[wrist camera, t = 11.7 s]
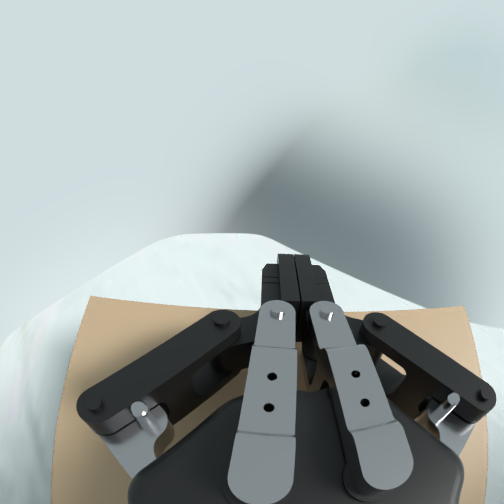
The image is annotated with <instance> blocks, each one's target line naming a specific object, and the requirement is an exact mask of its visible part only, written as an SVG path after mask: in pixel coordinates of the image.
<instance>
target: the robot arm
mask: <svg viewBox="0 0 504 504" xmlns="http://www.w3.org/2000/svg"><path fill="white" fill-rule="evenodd" d="M295 342H301V343H302V349H301V354H300V358H301V363H302V368H303V374H304V379H305V384H306V390H307V392H306V391H301V390H297V348H295ZM383 354H384V355H385V356H387V357H388V358H390V359H391V360H392V361H394V362H395V363H397V364H398V365H399V366H401V367H402V368H403V369H404V370H405V372H406V375H404V374H402V373H400V372H399V371H398V370H396V369H395V368H393V367H392V366H391V365H389V364H388V363H387V362H385V361H384V360H382V359H381V357H382V355H383ZM245 368H248V374H247V380H246V385H245V391H244V395H242V396H238V397H236V398H233V399H231V400H229V401H227V402H226V403H224V404H223V405H221V406H220V407H219V408H218V409H216V410H215V411H214V412H213V413H212V414H211V415H210V416H208V417H207V418H206V419H205V420H204V421H203V422H201V423H200V424H199V425H198V426H197V427H196V428H194V429H193V430H192V431H191V432H190V433H188V434H187V435H186V436H185V437H183V438H182V439H181V440H180V441H178V442H177V443H176V444H175V445H173V446H172V447H171V448H170V449H168V450H167V451H166V452H164V450H165V449H166V447H167V446H168V445H169V444H170V443H171V442H172V441H173V439H174V435H175V431H174V427H173V425H175V424H176V423H177V422H179V421H180V420H181V419H183V418H184V417H186V416H187V415H188V414H189V413H191V412H192V411H193V410H195V409H196V408H197V407H199V406H200V405H201V404H202V403H204V402H205V401H206V400H208V399H209V398H210V397H211V396H213V395H214V394H215V393H216V392H218V391H219V390H220V389H221V388H222V387H224V386H225V385H226V384H227V383H229V382H230V381H231V380H232V379H233V378H234V377H236V376H237V375H238V374H239V373H240V371H241V369H245ZM495 403H496V394H495V391H494V389H493V388H492V387H491V386H490V385H489V384H488V383H486V382H485V381H484V380H482V379H481V378H479V377H478V376H476V375H475V374H474V373H472V372H471V371H469V370H468V369H466V368H465V367H463V366H462V365H460V364H459V363H458V362H456V361H455V360H453V359H452V358H450V357H449V356H447V355H446V354H444V353H443V352H441V351H440V350H438V349H437V348H435V347H434V346H432V345H431V344H429V343H428V342H426V341H425V340H423V339H422V338H420V337H419V336H417V335H416V334H414V333H413V332H411V331H410V330H408V329H407V328H405V327H404V326H402V325H401V324H399V323H398V322H396V321H395V320H393V319H392V318H390V317H389V316H387V315H385V314H383V313H378V312H372V313H369V314H367V315H366V316H365V317H364V319H363V320H360V319H356V318H351V317H348V316H346V315H344V312H343V310H342V309H341V307H340V306H338V305H337V304H335V302H334V299H333V295H332V292H331V289H330V285H329V282H328V279H327V275H326V272H325V271H324V270H323V269H322V268H321V267H320V266H319V265H312V264H311V261H310V257H309V255H299V254H294V256H293V254H278V258H277V264H266V265H265V267H264V268H263V269H262V290H261V307H260V309H259V310H258V311H257V312H256V313H254V314H252V315H250V316H246V317H241V318H240V317H239V316H238V315H237V314H236V313H234V312H232V311H229V310H216V311H213V312H211V313H209V314H207V315H206V316H204V317H203V318H201V319H200V320H198V321H197V322H195V323H194V324H192V325H190V326H189V327H187V328H186V329H184V330H183V331H181V332H180V333H178V334H176V335H175V336H173V337H172V338H170V339H169V340H167V341H165V342H164V343H162V344H161V345H159V346H157V347H156V348H154V349H153V350H151V351H149V352H148V353H146V354H145V355H143V356H141V357H140V358H138V359H137V360H135V361H133V362H132V363H130V364H128V365H127V366H125V367H123V368H122V369H120V370H119V371H117V372H115V373H114V374H112V375H110V376H109V377H107V378H105V379H104V380H102V381H100V382H99V383H97V384H95V385H94V386H92V387H90V388H88V389H87V390H85V391H84V392H83V393H82V394H81V395H80V396H79V398H78V400H77V403H76V409H77V413H78V415H79V416H80V418H81V419H82V420H83V421H84V422H85V423H86V424H87V425H88V426H89V427H90V429H91V430H92V431H93V432H94V433H95V434H96V435H97V436H98V437H99V438H101V439H102V440H103V441H104V442H105V444H106V445H107V447H108V448H109V449H110V451H111V452H112V454H113V455H114V456H115V458H116V459H117V460H118V462H119V463H120V464H121V466H122V467H123V468H124V469H125V471H126V472H127V473H128V474H129V476H130V477H131V478H132V481H131V483H130V485H129V488H128V495H127V499H128V504H459V500H460V494H461V490H462V486H463V482H464V467H463V463H462V461H461V459H460V457H459V455H460V453H461V452H462V450H463V448H464V446H465V444H466V442H467V440H468V438H469V436H470V434H471V432H472V430H473V428H474V426H475V424H476V423H477V422H479V421H480V420H481V419H482V418H483V417H484V416H485V415H486V414H487V413H488V412H489V411H490V410H491V409H492V408H493V407H494V406H495ZM163 452H164V453H163Z"/></svg>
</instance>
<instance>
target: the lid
mask: <svg viewBox="0 0 504 504" xmlns="http://www.w3.org/2000/svg"><path fill="white" fill-rule="evenodd" d="M216 310H229V309H213V308H199V307H186V306H174V305H163V304H153V303H143V302H134V301H126V300H117V299H110V298H102V297H95V296H90V299H89V301H88V304H87V307H86V310H85V313H84V316H83V319H82V322H81V325H80V328H79V331H78V334H77V338H76V341H75V345H74V348H73V352H72V355H71V359H70V363H69V367H68V371H67V375H66V379H65V383H64V388H63V393H62V398H61V403H60V408H59V414H58V420H57V427H56V434H55V442H54V452H53V464H52V485H51V504H128V499H127V495H128V488H129V485H130V483H131V481H132V478H131V477H130V476H129V474H128V473H127V472H126V471H125V469H124V468H123V467H122V466H121V464H120V463H119V462H118V460H117V459H116V458H115V456H114V455H113V454H112V452H111V451H110V449H109V448H108V447H107V445H106V444H105V442H104V441H103V440H102V439H101V438H99V437H98V436H97V435H96V434H95V433H94V432H93V431H92V430H91V429H90V427H89V426H88V425H87V424H86V423H85V422H84V421H83V420H82V419H81V418H80V416H79V415H78V413H77V409H76V403H77V400H78V398H79V396H80V395H81V394H82V393H83V392H84V391H85V390H87V389H88V388H90V387H92V386H94V385H95V384H97V383H99V382H100V381H102V380H104V379H105V378H107V377H109V376H110V375H112V374H114V373H115V372H117V371H119V370H120V369H122V368H123V367H125V366H127V365H128V364H130V363H132V362H133V361H135V360H137V359H138V358H140V357H141V356H143V355H145V354H146V353H148V352H149V351H151V350H153V349H154V348H156V347H157V346H159V345H161V344H162V343H164V342H165V341H167V340H169V339H170V338H172V337H173V336H175V335H176V334H178V333H180V332H181V331H183V330H184V329H186V328H187V327H189V326H190V325H192V324H194V323H195V322H197V321H198V320H200V319H201V318H203V317H204V316H206V315H207V314H209V313H211V312H213V311H216ZM229 311H232V312H234V313H236V314H237V315H238V316H239V317H240V318H241V317H246V316H250V315H252V314H254V313H256V312H257V311H250V310H229ZM372 312H378V313H383V314H385V315H387V316H389V317H390V318H392V319H393V320H395V321H396V322H398V323H399V324H401V325H402V326H404V327H405V328H407V329H408V330H410V331H411V332H413V333H414V334H416V335H417V336H419V337H420V338H422V339H423V340H425V341H426V342H428V343H429V344H431V345H432V346H434V347H435V348H437V349H438V350H440V351H441V352H443V353H444V354H446V355H447V356H449V357H450V358H452V359H453V360H455V361H456V362H458V363H459V364H460V365H462V366H463V367H465V368H466V369H468V370H469V371H471V372H472V373H474V374H475V375H476V376H478V377H479V378H481V379H482V377H481V371H480V366H479V361H478V356H477V351H476V347H475V343H474V339H473V335H472V331H471V327H470V323H469V320H468V317H467V313H466V310H465V307H464V306H457V307H445V308H433V309H417V310H398V311H372ZM372 312H344V315H346V316H348V317H351V318H356V319H360V320H363V319H364V317H365V316H366V315H367V314H369V313H372ZM295 348H297V390H301V391H306V392H307V390H306V384H305V379H304V374H303V368H302V363H301V358H300V354H301V349H302V343H301V342H295ZM381 359H382V360H384V361H385V362H387V363H388V364H389V365H391V366H392V367H393V368H395V369H396V370H398V371H399V372H400V373H402V374H404V375H406V372H405V370H404V369H403V368H402V367H401V366H399V365H398V364H397V363H395V362H394V361H392V360H391V359H390V358H388V357H387V356H385V355H384V354H383V355H382V357H381ZM247 374H248V368H245V369H241V371H240V373H239V374H238V375H237V376H236V377H234V378H233V379H232V380H231V381H230V382H229V383H227V384H226V385H225V386H224V387H222V388H221V389H220V390H219V391H218V392H216V393H215V394H214V395H213V396H211V397H210V398H209V399H208V400H206V401H205V402H204V403H202V404H201V405H200V406H199V407H197V408H196V409H195V410H193V411H192V412H191V413H189V414H188V415H187V416H186V417H184V418H183V419H181V420H180V421H179V422H177V423H176V424H175V425H173V427H174V431H175V435H174V439H173V441H172V442H171V443H170V444H169V445H168V446H167V447H166V449H165V450H164V452H166V451H167V450H168V449H170V448H171V447H172V446H173V445H175V444H176V443H177V442H178V441H180V440H181V439H182V438H183V437H185V436H186V435H187V434H188V433H190V432H191V431H192V430H193V429H194V428H196V427H197V426H198V425H199V424H200V423H201V422H203V421H204V420H205V419H206V418H207V417H208V416H210V415H211V414H212V413H213V412H214V411H215V410H216V409H218V408H219V407H220V406H221V405H223V404H224V403H226V402H227V401H229V400H231V399H233V398H236V397H238V396H242V395H244V391H245V385H246V380H247ZM164 452H163V453H164ZM459 457H460V459H461V461H462V463H463V467H464V482H463V486H462V490H461V494H460V500H459V504H484V500H485V492H486V482H487V466H488V434H487V417H486V415H485V416H484V417H483V418H482V419H481V420H480V421H479V422H477V423H476V424H475V426H474V428H473V430H472V432H471V434H470V436H469V438H468V440H467V442H466V444H465V446H464V448H463V450H462V452H461V453H460V455H459Z"/></svg>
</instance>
